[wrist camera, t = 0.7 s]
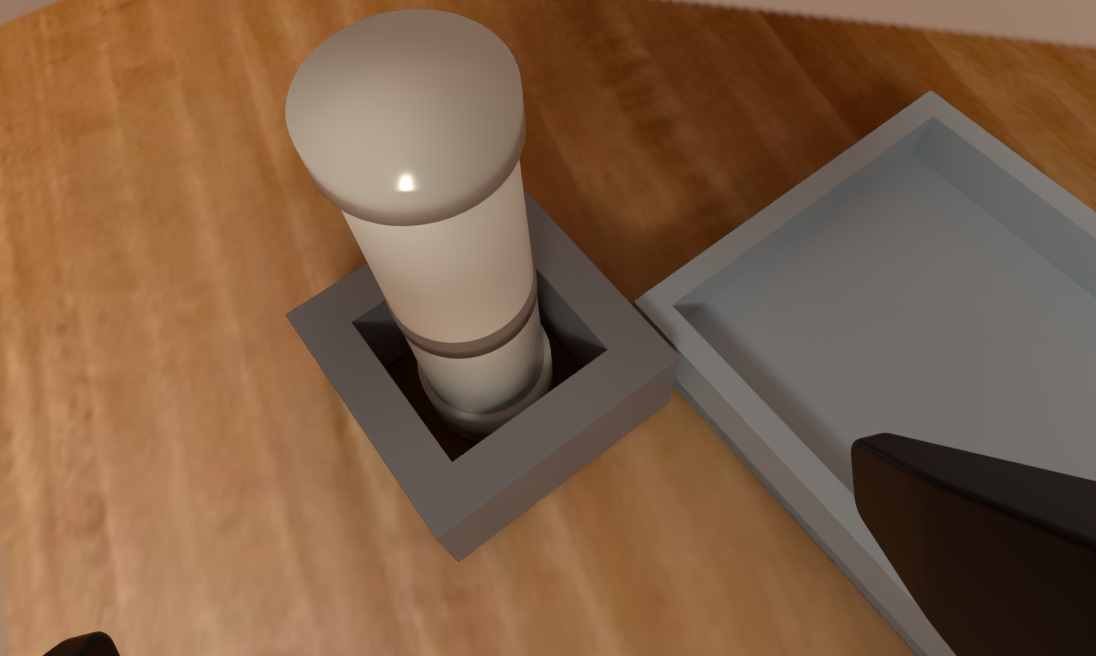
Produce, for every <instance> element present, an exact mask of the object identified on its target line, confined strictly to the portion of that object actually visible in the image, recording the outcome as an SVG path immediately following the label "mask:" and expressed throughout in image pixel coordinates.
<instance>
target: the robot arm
mask: <svg viewBox="0 0 1096 656" xmlns="http://www.w3.org/2000/svg"><path fill="white" fill-rule="evenodd" d="M851 464H852V476H853V488H854V499H855V504H856V507H857V510H858V513H859V515H860V517H861V519H862V520H863V522H864V524H865V525H866V527H867V528H868V530H869V531H870V533H871V534H872V536H873V537H874V539H875V540H876V542H877V544H878V545H879V547H880V548H881V550H882V551H883V553H884V554H885V556H886V557H887V559H888V561H889V562H890V564H891V565H892V567H893V568H894V570H895V571H896V573H897V574H898V576H899V577H900V579H901V581H902V582H903V584H904V585H905V587H906V588H907V590H908V591H909V593H910V594H911V596H912V597H913V599H914V601H915V602H916V604H917V605H918V607H919V608H920V609H921V611H922V612H923V614H924V615H925V617H926V618H927V620H928V621H929V622H930V624H931V625H932V626H933V627H934V629H935V630H936V631H937V633H938V634H939V635H940V636H941V638H942V639H943V640H944V641H945V643H946V644H947V645H948V646H949V648H950V649H951V650H952V651H953V652H954V654H955V655H956V656H1096V481H1094V480H1090V479H1085V478H1081V477H1077V476H1073V475H1068V474H1064V473H1060V472H1055V471H1051V470H1047V469H1042V468H1038V467H1034V466H1029V465H1025V464H1021V463H1017V462H1012V461H1008V460H1004V459H999V458H995V457H991V456H986V455H982V454H978V453H974V452H969V451H965V450H961V449H956V448H952V447H948V446H943V445H939V444H935V443H930V442H926V441H922V440H918V439H913V438H909V437H905V436H900V435H896V434H892V433H886V432H885V433H878V434H874V435H870V436H867V437H863V438H859V439H857V440H855V441H854V442H853V444H852V446H851ZM43 656H120V655H119V652H118V650H117V648H116V646H115V644H114V642H113V640H112V639H111V637H110V636H109V635H107V634H106V633H103V632H100V631H99V632H93V633H89V634H85V635H81V636H77V637H73V638H69V639H67V640H64V641H63V642H61V643H59V644H58V645H57V646H55V647H54V648H52V649H51V650H50V651H48V652H47V653H46V654H44V655H43Z"/></svg>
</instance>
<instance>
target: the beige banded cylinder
mask: <svg viewBox="0 0 1096 656" xmlns="http://www.w3.org/2000/svg"><path fill="white" fill-rule="evenodd" d="M285 112H286V123H287V128H288V132H289V134H290V137H291V139H292V142H293V144H294V146H295V148H296V149H297V151H298V153H299V155H300V157H301V159H302V161H303V163H304V164H305V166H306V168H307V170H308V172H309V174H310V176H311V178H312V180H313V181H314V183H315V184H316V186H317V187H318V189H319V191H320V192H321V193H322V194H323V195H324V196H325V197H326V198H327V199H328V200H329V201H330V202H331V203H333V204H334V205H335V206H336V207H337V208H339V209H341V211H342V213H343V215H344V217H345V219H346V221H347V223H348V225H349V227H350V229H351V231H352V233H353V235H354V237H355V239H356V241H357V243H358V245H359V247H360V249H361V251H362V253H363V255H364V257H365V259H366V261H367V263H368V265H369V267H370V268H371V270H372V272H373V274H374V276H375V278H376V280H377V282H378V284H379V286H380V288H381V290H382V292H383V294H384V298H385V302H386V304H387V306H388V309H389V311H390V313H391V315H392V317H393V319H394V321H395V322H396V324H397V326H398V328H399V329H400V331H401V332H402V334H403V335H404V336H405V338H406V340H407V342H408V344H409V346H410V348H411V349H412V351H413V353H414V355H415V357H416V359H417V361H418V374H419V378H420V381H421V384H422V386H423V388H424V390H425V392H426V394H427V396H428V398H429V400H430V402H431V404H432V405H433V407H434V409H435V411H436V413H437V414H438V416H439V418H440V419H441V420H442V422H443V423H444V424H445V425H446V426H447V427H448V428H449V429H451V430H452V431H453V432H455V433H456V434H458V435H460V436H462V437H464V438H467V439H470V440H473V441H478V442H481V441H482V440H484V439H485V438H486V437H488V436H489V435H491V434H492V433H493V432H495V431H496V430H497V429H499V428H500V427H502V426H503V425H504V424H506V423H507V422H509V421H510V420H511V419H513V418H514V417H515V416H517V415H518V414H520V413H521V412H522V411H524V410H525V409H527V408H528V407H529V406H531V405H532V404H533V403H535V402H536V401H538V400H539V399H540V398H542V397H543V396H545V395H546V394H547V393H549V392H550V391H551V390H553V386H554V377H553V367H552V358H551V349H550V344H549V340H548V337H547V334H546V332H545V330H544V329H543V327H542V325H541V323H540V316H539V308H538V300H537V291H538V288H537V276H536V268H535V262H534V258H533V255H532V252H531V246H530V238H529V230H528V222H527V214H526V207H525V199H524V191H523V183H522V176H521V168H520V160H519V158H520V156H521V154H522V150H523V147H524V143H525V135H526V121H525V111H524V102H523V93H522V84H521V77H520V72H519V68H518V65H517V63H516V61H515V58H514V56H513V55H512V53H511V51H510V50H509V48H508V47H507V46H506V45H505V43H504V42H503V41H502V40H501V39H500V38H499V37H498V36H497V35H496V34H494V33H493V32H492V31H491V30H489V29H488V28H486V27H485V26H483V25H481V24H480V23H478V22H476V21H474V20H471V19H469V18H467V17H464V16H461V15H458V14H455V13H450V12H445V11H440V10H431V9H407V10H397V11H391V12H386V13H382V14H378V15H374V16H371V17H368V18H365V19H362V20H360V21H357V22H355V23H353V24H351V25H349V26H347V27H345V28H343V29H341V30H340V31H338V32H336V33H335V34H333V35H331V36H330V37H329V38H328V39H326V40H325V41H324V42H322V43H321V44H320V45H319V46H318V47H317V48H316V49H315V50H314V51H312V52H311V53H310V55H309V56H308V57H307V58H306V59H305V61H304V62H303V63H302V65H301V66H300V68H299V69H298V71H297V72H296V74H295V76H294V78H293V80H292V83H291V85H290V88H289V91H288V95H287V100H286V108H285Z"/></svg>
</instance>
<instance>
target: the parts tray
mask: <svg viewBox="0 0 1096 656" xmlns="http://www.w3.org/2000/svg"><path fill="white" fill-rule="evenodd" d="M633 307H634V308H635V309H636V310H637V311H638V312H639V313H640V314H641V315H642V316H643V318H644V319H645V320H646V321H647V322H648V323H649V324H650V325H651V326H652V327H653V328H654V329H655V330H656V332H657V333H658V334H659V335H660V336H661V337H662V338H663V339H664V340H665V341H666V342H667V343H668V344H669V346H670V347H671V348H672V349H673V350H674V351H675V352H676V353H677V354H678V355H679V356H680V361H679V365H678V368H677V372H676V376H675V380H674V383H673V386H674V387H675V388H676V389H677V390H678V391H679V392H680V393H681V394H682V396H683V397H684V398H685V399H686V400H687V401H688V402H689V403H690V404H691V405H692V407H693V408H694V409H695V410H696V411H697V412H698V413H699V414H700V415H701V417H702V418H703V419H704V420H705V421H706V422H707V423H708V424H709V425H710V427H711V428H712V429H713V430H714V431H715V432H716V433H717V434H718V435H719V436H720V438H721V439H722V440H723V441H724V442H725V443H726V444H727V445H728V446H729V448H730V449H731V450H732V451H733V452H734V453H735V454H736V455H737V456H738V457H739V459H740V460H741V461H742V462H743V463H744V464H745V465H746V466H747V467H748V469H749V470H750V471H751V472H752V473H753V474H754V475H755V476H756V477H757V478H758V480H759V481H760V482H761V483H762V484H763V485H764V486H765V487H766V488H767V490H768V491H769V492H770V493H771V494H772V495H773V496H774V497H775V498H776V499H777V501H778V502H779V503H780V504H781V505H782V506H783V507H784V508H785V509H786V511H787V512H788V513H789V514H790V515H791V516H792V517H793V518H794V519H795V520H796V522H797V523H798V524H799V525H800V526H801V527H802V528H803V529H804V530H805V532H806V533H807V534H808V535H809V536H810V537H811V538H812V539H813V540H814V541H815V543H816V544H817V545H818V546H819V547H820V548H821V549H822V550H823V551H824V553H825V554H826V555H827V556H828V557H829V558H830V559H831V560H832V561H833V563H834V564H835V565H836V566H837V567H838V568H839V569H840V570H841V571H842V572H843V574H844V575H845V576H846V577H847V578H848V579H849V580H850V581H851V582H852V584H853V585H854V586H855V587H856V588H857V589H858V590H859V591H860V592H861V593H862V595H863V596H864V597H865V598H866V599H867V600H868V601H869V602H870V603H871V605H872V606H873V607H874V608H875V609H876V610H877V611H878V612H879V613H880V614H881V616H882V617H883V618H884V619H885V620H886V621H887V622H888V623H889V624H890V626H891V627H892V628H893V629H894V630H895V631H896V632H897V633H898V634H899V635H900V637H901V638H902V639H903V640H904V641H905V642H906V643H907V644H908V645H909V647H910V648H911V649H912V650H913V651H914V652H915V653H916V654H917V655H918V656H956V655H955V654H954V652H953V651H952V650H951V649H950V648H949V646H948V645H947V644H946V643H945V641H944V640H943V639H942V638H941V636H940V635H939V634H938V633H937V631H936V630H935V629H934V627H933V626H932V625H931V624H930V622H929V621H928V620H927V618H926V617H925V615H924V614H923V612H922V611H921V609H920V608H919V607H918V605H917V604H916V602H915V601H914V599H913V597H912V596H911V594H910V593H909V591H908V590H907V588H906V587H905V585H904V584H903V582H902V581H901V579H900V577H899V576H898V574H897V573H896V571H895V570H894V568H893V567H892V565H891V564H890V562H889V561H888V559H887V557H886V556H885V554H884V553H883V551H882V550H881V548H880V547H879V545H878V544H877V542H876V540H875V539H874V537H873V536H872V534H871V533H870V531H869V530H868V528H867V527H866V525H865V524H864V522H863V520H862V519H861V517H860V515H859V513H858V510H857V507H856V504H855V499H854V488H853V476H852V464H851V446H852V444H853V442H854V441H855V440H857V439H859V438H863V437H867V436H870V435H874V434H878V433H885V432H886V433H892V434H896V435H900V436H905V437H909V438H913V439H918V440H922V441H926V442H930V443H935V444H939V445H943V446H948V447H952V448H956V449H961V450H965V451H969V452H974V453H978V454H982V455H986V456H991V457H995V458H999V459H1004V460H1008V461H1012V462H1017V463H1021V464H1025V465H1029V466H1034V467H1038V468H1042V469H1047V470H1051V471H1055V472H1060V473H1064V474H1068V475H1073V476H1077V477H1081V478H1085V479H1090V480H1094V481H1096V212H1094V211H1093V210H1092V209H1090V208H1089V207H1088V206H1086V205H1085V204H1084V203H1082V202H1081V201H1080V200H1078V199H1077V198H1076V197H1074V196H1073V195H1071V194H1070V193H1069V192H1067V191H1066V190H1065V189H1063V188H1062V187H1061V186H1059V185H1058V184H1057V183H1055V182H1054V181H1053V180H1051V179H1050V178H1049V177H1047V176H1046V175H1045V174H1043V173H1042V172H1040V171H1039V170H1038V169H1036V168H1035V167H1034V166H1032V165H1031V164H1030V163H1028V162H1027V161H1026V160H1024V159H1023V158H1022V157H1020V156H1019V155H1018V154H1016V153H1015V152H1013V151H1012V150H1011V149H1009V148H1008V147H1007V146H1005V145H1004V144H1003V143H1001V142H1000V141H999V140H997V139H996V138H995V137H993V136H992V135H991V134H989V133H988V132H986V131H985V130H984V129H982V128H981V127H980V126H978V125H977V124H976V123H974V122H973V121H972V120H970V119H969V118H968V117H966V116H965V115H964V114H962V113H961V112H960V111H958V110H957V109H955V108H954V107H953V106H951V105H950V104H949V103H947V102H946V101H945V100H943V99H942V98H941V97H939V96H938V95H937V94H935V93H934V92H933V91H931V90H930V91H929V92H927V93H926V94H924V95H923V96H922V97H920V98H919V99H917V100H916V101H915V102H913V103H912V104H910V105H909V106H908V107H906V108H905V109H903V110H902V111H901V112H899V113H898V114H896V115H895V116H894V117H892V118H891V119H889V120H888V121H886V122H885V123H884V124H882V125H881V126H879V127H878V128H877V129H875V130H874V131H872V132H871V133H870V134H868V135H867V136H865V137H864V138H863V139H861V140H860V141H858V142H857V143H856V144H854V145H853V146H851V147H850V148H849V149H847V150H846V151H844V152H843V153H841V154H840V155H839V156H837V157H836V158H834V159H833V160H832V161H830V162H829V163H827V164H826V165H825V166H823V167H822V168H820V169H819V170H818V171H816V172H815V173H813V174H812V175H811V176H809V177H808V178H806V179H805V180H804V181H802V182H801V183H799V184H798V185H796V186H795V187H794V188H792V189H791V190H789V191H788V192H787V193H785V194H784V195H782V196H781V197H780V198H778V199H777V200H775V201H774V202H773V203H771V204H770V205H768V206H767V207H766V208H764V209H763V210H761V211H760V212H759V213H757V214H756V215H754V216H753V217H751V218H750V219H749V220H747V221H746V222H744V223H743V224H742V225H740V226H739V227H737V228H736V229H735V230H733V231H732V232H730V233H729V234H728V235H726V236H725V237H723V238H722V239H721V240H719V241H718V242H716V243H715V244H714V245H712V246H711V247H709V248H708V249H706V250H705V251H704V252H702V253H701V254H699V255H698V256H697V257H695V258H694V259H692V260H691V261H690V262H688V263H687V264H685V265H684V266H683V267H681V268H680V269H678V270H677V271H676V272H674V273H673V274H671V275H670V276H669V277H667V278H666V279H664V280H663V281H661V282H660V283H659V284H657V285H656V286H654V287H653V288H652V289H650V290H649V291H647V292H646V293H645V294H643V295H642V296H640V297H639V298H638V299H636V300H635V301H634V303H633Z"/></svg>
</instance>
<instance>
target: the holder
mask: <svg viewBox="0 0 1096 656" xmlns="http://www.w3.org/2000/svg"><path fill="white" fill-rule="evenodd" d="M523 191H524V199H525V207H526V214H527V222H528V230H529V238H530V246H531V252H532V255H533V258H534V262H535V268H536V276H537V288H538V291H537V300H538V308H539V316H540V319H541V320H542V321H543V323H544V324H545V325H546V326H547V327H548V328H549V330H550V331H551V332H552V333H553V334H554V335H555V337H556V338H557V339H558V340H559V341H560V342H561V344H562V345H563V346H564V347H565V348H566V349H567V351H568V352H569V353H570V354H571V355H572V357H573V358H574V359H575V360H576V361H577V362H578V364H579V365H580V366H581V367H582V369H581V370H579V371H578V372H576V373H575V374H574V375H572V376H571V377H569V378H568V379H567V380H565V381H564V382H563V383H561V384H560V385H558V386H557V387H556V388H554V389H553V390H551V391H550V392H549V393H547V394H546V395H545V396H543V397H542V398H540V399H539V400H538V401H536V402H535V403H533V404H532V405H531V406H529V407H528V408H527V409H525V410H524V411H522V412H521V413H520V414H518V415H517V416H515V417H514V418H513V419H511V420H510V421H509V422H507V423H506V424H504V425H503V426H502V427H500V428H499V429H497V430H496V431H495V432H493V433H492V434H491V435H489V436H488V437H486V438H485V439H484V440H482V441H481V442H480V443H478V444H477V445H475V446H474V447H473V448H471V449H470V450H468V451H467V452H466V453H464V454H463V455H462V456H460V457H459V458H457V459H456V460H455V461H453V462H451V460H450V459H449V457H448V456H447V455H446V453H445V452H444V450H443V449H442V448H441V446H440V445H439V443H438V442H437V441H436V439H435V438H434V437H433V435H432V434H431V432H430V431H429V430H428V428H427V427H426V425H425V424H424V423H423V421H422V420H421V418H420V417H419V416H418V414H417V413H416V411H415V410H414V409H413V407H412V406H411V404H410V403H409V402H408V400H407V399H406V397H405V396H404V395H403V393H402V392H401V390H400V389H399V388H398V386H397V385H396V384H395V382H394V381H393V379H392V378H391V377H390V375H389V374H388V372H387V371H386V370H385V367H386V366H388V365H389V364H391V363H392V362H394V361H395V360H397V359H398V358H400V357H401V356H403V355H404V354H406V353H407V352H409V351H410V350H412V349H411V348H410V346H409V344H408V342H407V340H406V338H405V336H404V335H403V334H402V332H401V331H400V329H399V328H398V326H397V324H396V322H395V321H394V319H393V317H392V315H391V313H390V311H389V309H388V306H387V304H386V302H385V298H384V294H383V292H382V290H381V288H380V286H379V284H378V282H377V280H376V278H375V276H374V274H373V272H372V270H371V268H370V267H369V265H368V263H367V264H365V265H364V266H362V267H360V268H359V269H357V270H356V271H354V272H353V273H351V274H349V275H348V276H346V277H345V278H343V279H341V280H340V281H338V282H337V283H335V284H333V285H332V286H330V287H329V288H327V289H326V290H324V291H322V292H321V293H319V294H318V295H316V296H314V297H313V298H311V299H310V300H308V301H307V302H305V303H303V304H302V305H300V306H299V307H297V308H295V309H294V310H292V311H291V312H289V313H287V314H286V317H287V318H288V320H289V321H290V323H291V324H292V326H293V327H294V328H295V330H296V331H297V333H298V334H299V336H300V337H301V339H302V340H303V342H304V343H305V345H306V346H307V348H308V349H309V351H310V352H311V354H312V355H313V357H314V358H315V360H316V361H317V363H318V364H319V366H320V367H321V369H322V370H323V372H324V373H325V375H326V376H327V377H328V379H329V380H330V382H331V383H332V385H333V386H334V388H335V389H336V391H337V392H338V394H339V395H340V397H341V398H342V400H343V401H344V403H345V404H346V406H347V407H348V409H349V410H350V412H351V413H352V415H353V416H354V418H355V419H356V421H357V422H358V424H359V425H360V426H361V428H362V429H363V431H364V432H365V434H366V435H367V437H368V438H369V440H370V441H371V443H372V444H373V446H374V447H375V449H376V450H377V452H378V453H379V455H380V456H381V458H382V459H383V461H384V462H385V464H386V465H387V467H388V468H389V470H390V471H391V472H392V474H393V475H394V477H395V478H396V480H397V481H398V483H399V484H400V486H401V487H402V489H403V490H404V492H405V493H406V495H407V496H408V498H409V499H410V501H411V502H412V504H413V505H414V507H415V508H416V510H417V511H418V513H419V514H420V516H421V517H422V519H423V520H424V521H425V523H426V524H427V526H428V527H429V529H430V530H431V532H432V533H433V535H434V536H435V538H436V539H437V540H438V541H439V543H440V544H441V545H442V546H443V547H444V548H445V549H446V550H447V551H448V552H449V553H450V554H451V555H452V556H453V557H454V558H455V559H456V560H457V562H459V561H461V560H462V559H463V558H465V557H466V556H467V555H469V554H470V553H471V552H473V551H474V550H475V549H477V548H478V547H479V546H480V545H482V544H483V543H484V542H486V541H487V540H488V539H490V538H491V537H492V536H494V535H495V534H496V533H498V532H499V531H500V530H502V529H503V528H504V527H505V526H507V525H508V524H509V523H511V522H512V521H513V520H515V519H516V518H517V517H519V516H520V515H521V514H523V513H524V512H525V511H526V510H528V509H529V508H530V507H532V506H533V505H534V504H536V503H537V502H538V501H540V500H541V499H542V498H544V497H545V496H546V495H547V494H549V493H550V492H551V491H553V490H554V489H555V488H557V487H558V486H559V485H561V484H562V483H563V482H565V481H566V480H567V479H569V478H570V477H571V476H572V475H574V474H575V473H576V472H578V471H579V470H580V469H582V468H583V467H584V466H586V465H587V464H588V463H590V462H591V461H592V460H593V459H595V458H596V457H597V456H599V455H600V454H601V453H603V452H604V451H605V450H607V449H608V448H609V447H611V446H612V445H613V444H615V443H616V442H617V441H618V440H620V439H621V438H622V437H624V436H625V435H626V434H628V433H629V432H630V431H632V430H633V429H634V428H636V427H637V426H638V425H639V424H641V423H642V422H643V421H645V420H646V419H647V418H649V417H650V416H651V415H653V414H654V413H655V412H657V411H658V410H659V409H660V408H662V407H663V406H664V405H666V404H667V403H668V402H669V398H670V395H671V391H672V387H673V383H674V380H675V376H676V372H677V368H678V365H679V361H680V356H679V355H678V354H677V353H676V352H675V351H674V350H673V349H672V348H671V347H670V346H669V344H668V343H667V342H666V341H665V340H664V339H663V338H662V337H661V336H660V335H659V334H658V333H657V332H656V330H655V329H654V328H653V327H652V326H651V325H650V324H649V323H648V322H647V321H646V320H645V319H644V318H643V316H642V315H641V314H640V313H639V312H638V311H637V310H636V309H635V308H634V307H633V306H632V305H631V303H630V302H629V301H628V300H627V299H626V298H625V297H624V296H623V295H622V294H621V293H620V292H619V291H618V289H617V288H616V287H615V286H614V285H613V284H612V283H611V282H610V281H609V280H608V279H607V278H606V277H605V275H604V274H603V273H602V272H601V271H600V270H599V269H598V268H597V267H596V266H595V265H594V264H593V262H592V261H591V260H590V259H589V258H588V257H587V256H586V255H585V254H584V253H583V252H582V251H581V250H580V248H579V247H578V246H577V245H576V244H575V243H574V242H573V241H572V240H571V239H570V238H569V237H568V236H567V234H566V233H565V232H564V231H563V230H562V229H561V228H560V227H559V226H558V225H557V224H556V223H555V221H554V220H553V219H552V218H551V217H550V216H549V215H548V214H547V213H546V212H545V211H544V210H543V209H542V207H541V206H540V205H539V204H538V203H537V202H536V201H535V200H534V199H533V198H532V197H531V196H530V195H529V193H528V192H527V191H526V190H525V189H524V188H523Z"/></svg>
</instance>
